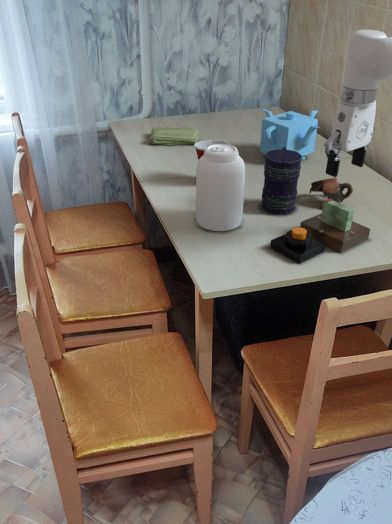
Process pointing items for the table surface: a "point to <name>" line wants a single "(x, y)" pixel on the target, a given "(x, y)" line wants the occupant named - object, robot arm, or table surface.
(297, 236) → the button
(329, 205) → the pale green flat block
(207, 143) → the plastic cup
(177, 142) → the washcloth
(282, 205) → the storage jar
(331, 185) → the pottery mug
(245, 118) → the table surface
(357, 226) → the base
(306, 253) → the button block
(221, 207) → the can
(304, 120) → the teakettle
